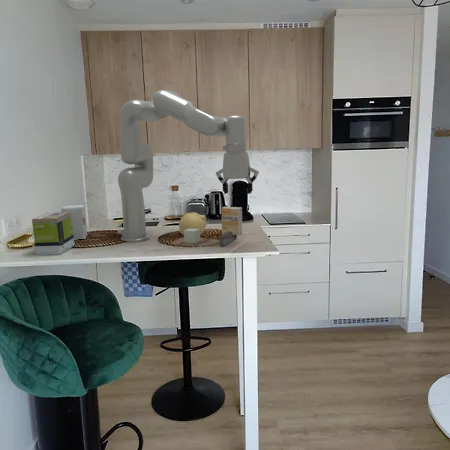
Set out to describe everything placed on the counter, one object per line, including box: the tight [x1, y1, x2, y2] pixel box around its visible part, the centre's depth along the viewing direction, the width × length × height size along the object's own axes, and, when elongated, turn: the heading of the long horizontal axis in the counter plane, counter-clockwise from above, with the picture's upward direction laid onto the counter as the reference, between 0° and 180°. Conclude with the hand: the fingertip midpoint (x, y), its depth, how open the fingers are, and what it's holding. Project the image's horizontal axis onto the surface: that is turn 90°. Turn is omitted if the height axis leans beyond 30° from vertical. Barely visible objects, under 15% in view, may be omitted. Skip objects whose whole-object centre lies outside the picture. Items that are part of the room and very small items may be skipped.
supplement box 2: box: [221, 206, 243, 236], centre depth 190 cm, size 8×5×13 cm, turn 68°
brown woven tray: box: [168, 231, 234, 248], centre depth 175 cm, size 24×12×5 cm, turn 70°
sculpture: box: [178, 212, 207, 236], centre depth 193 cm, size 12×12×11 cm
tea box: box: [31, 211, 76, 256], centre depth 171 cm, size 15×10×15 cm, turn 178°
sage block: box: [183, 228, 201, 243], centre depth 176 cm, size 5×5×5 cm
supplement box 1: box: [60, 204, 88, 241], centre depth 193 cm, size 9×9×15 cm
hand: (237, 193), depth 167 cm, fingers open, 9 cm apart
